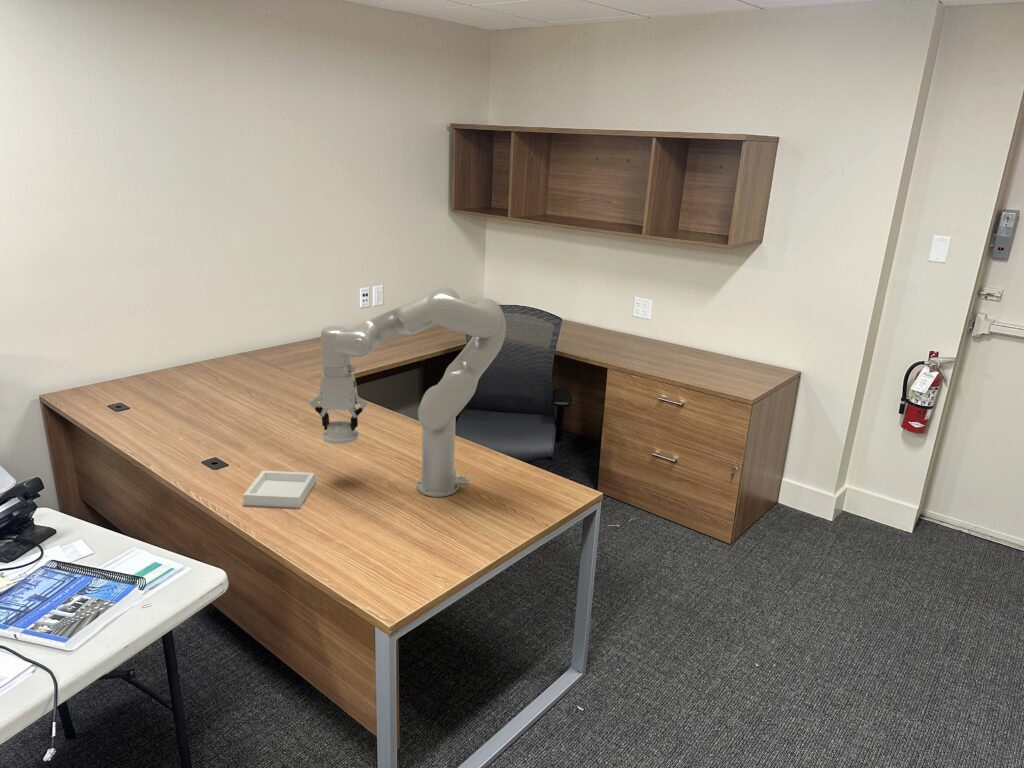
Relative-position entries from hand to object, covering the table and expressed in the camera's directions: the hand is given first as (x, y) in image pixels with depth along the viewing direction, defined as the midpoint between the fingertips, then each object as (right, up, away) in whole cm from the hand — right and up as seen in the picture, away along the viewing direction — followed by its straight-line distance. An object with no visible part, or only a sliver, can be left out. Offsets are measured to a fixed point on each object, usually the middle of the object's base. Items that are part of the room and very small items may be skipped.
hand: (340, 428), depth 208 cm
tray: (-16, -19, -3) cm, 25 cm away
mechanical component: (0, -3, +1) cm, 3 cm away
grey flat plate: (-16, -19, -3) cm, 25 cm away
